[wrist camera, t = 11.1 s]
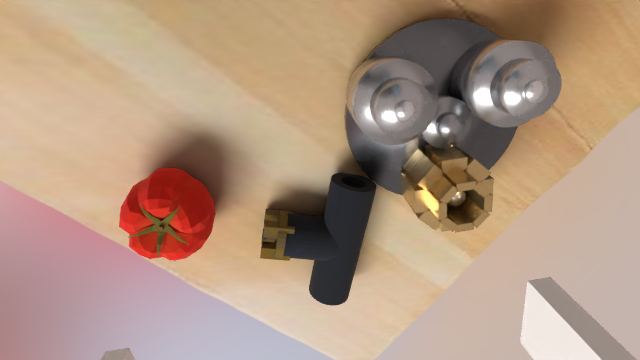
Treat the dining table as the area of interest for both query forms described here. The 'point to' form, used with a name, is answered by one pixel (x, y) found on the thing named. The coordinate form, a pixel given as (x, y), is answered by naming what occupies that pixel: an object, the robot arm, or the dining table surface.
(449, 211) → the brass stepped collar
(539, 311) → the robot arm
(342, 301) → the pipe connector
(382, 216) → the dining table surface
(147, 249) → the tomato
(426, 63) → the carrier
